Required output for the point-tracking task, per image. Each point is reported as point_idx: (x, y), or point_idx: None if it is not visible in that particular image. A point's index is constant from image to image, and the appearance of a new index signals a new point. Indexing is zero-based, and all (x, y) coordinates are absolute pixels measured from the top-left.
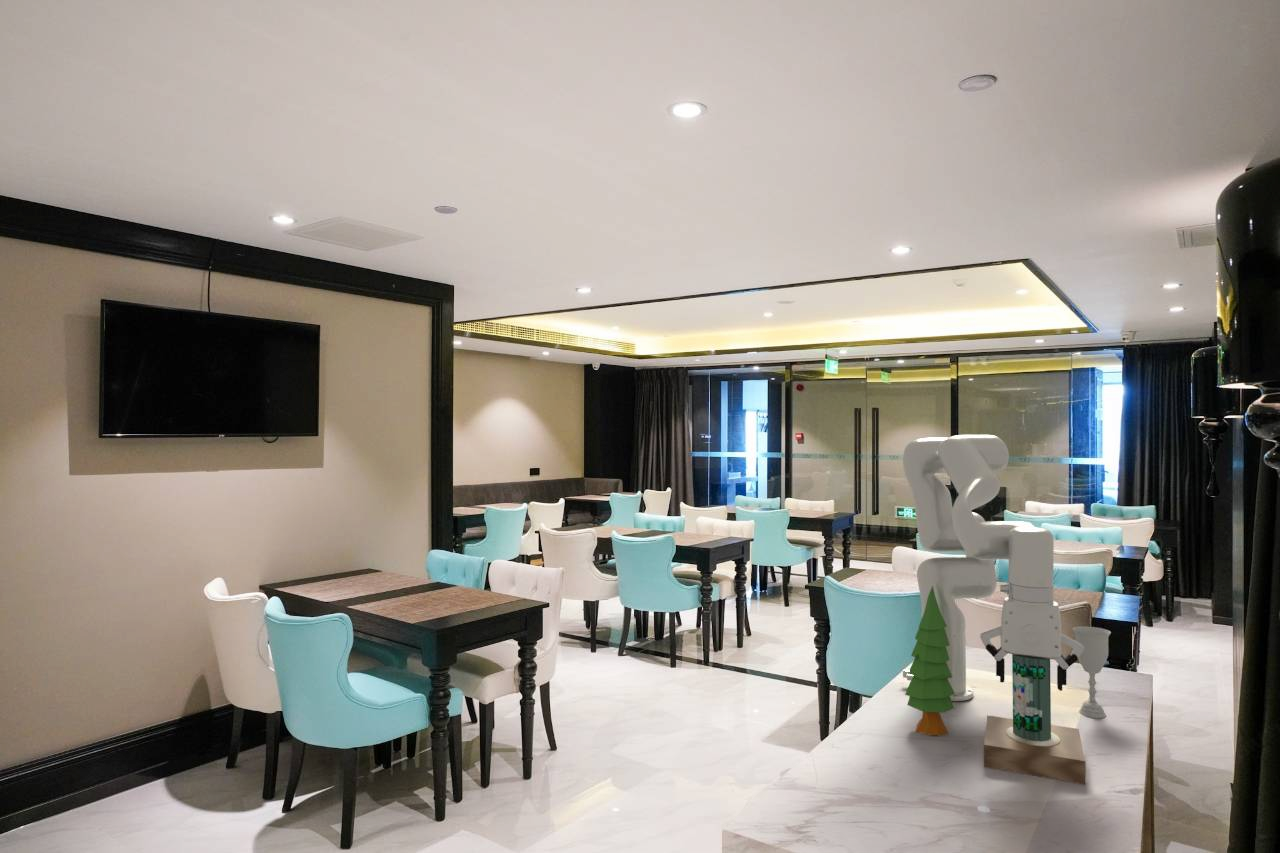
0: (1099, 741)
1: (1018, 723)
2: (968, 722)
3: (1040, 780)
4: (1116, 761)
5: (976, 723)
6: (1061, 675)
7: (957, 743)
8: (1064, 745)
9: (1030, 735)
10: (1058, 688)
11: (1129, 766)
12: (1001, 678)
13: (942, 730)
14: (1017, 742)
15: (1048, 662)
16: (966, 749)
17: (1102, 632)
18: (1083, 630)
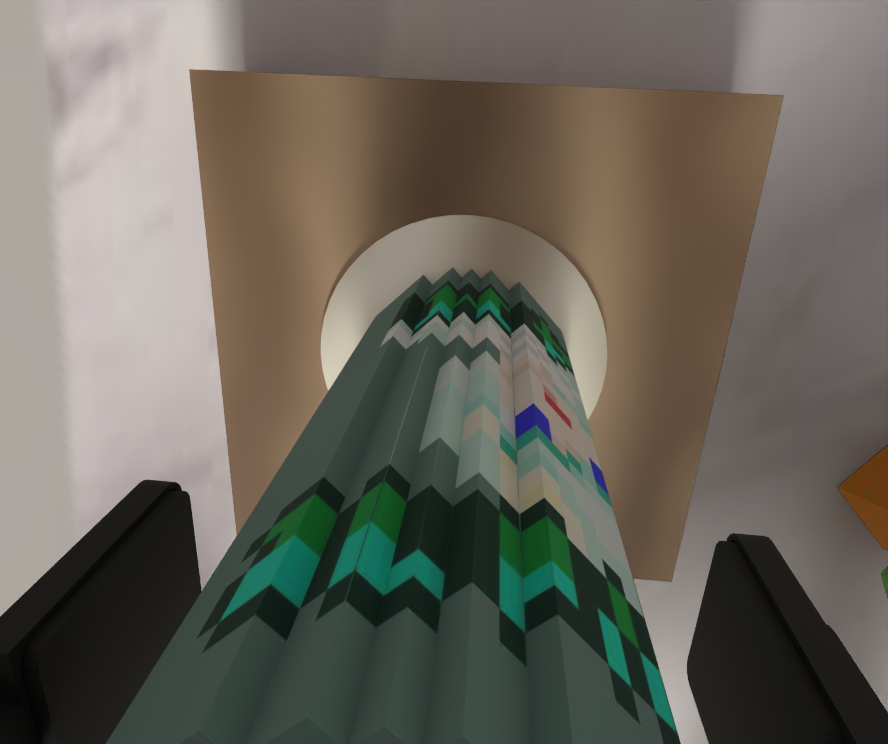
0: (201, 591)
1: (547, 334)
2: None
3: (452, 31)
4: (134, 416)
5: (675, 628)
6: (44, 584)
7: (817, 372)
8: (300, 285)
9: (477, 282)
10: (176, 494)
11: (86, 382)
12: (767, 558)
13: (884, 472)
14: (556, 226)
15: None
16: (784, 310)
17: None
18: None
